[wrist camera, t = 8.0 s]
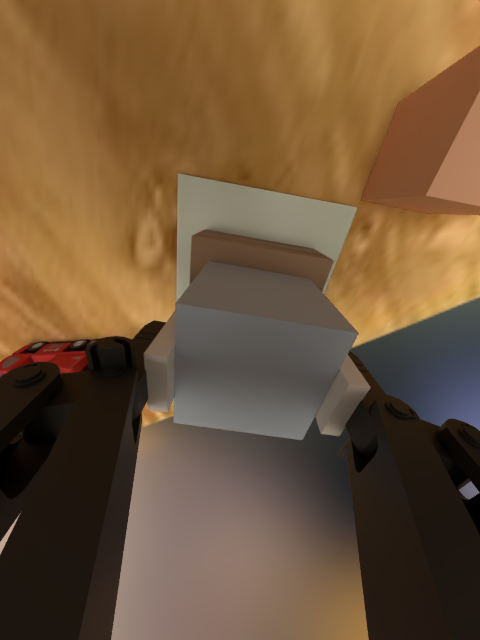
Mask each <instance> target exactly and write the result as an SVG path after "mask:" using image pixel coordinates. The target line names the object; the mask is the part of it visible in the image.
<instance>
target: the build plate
mask: <svg viewBox="0 0 480 640" xmlns="http://www.w3.org/2000/svg"><path fill="white" fill-rule="evenodd" d="M357 208H358V207H353V206H348V205H342V204H337V203H332V202H326V201H321V200H316V199H311V198H305V197H300V196H295V195H290V194H284V193H279V192H274V191H268V190H263V189H258V188H253V187H247V186H242V185H237V184H231V183H226V182H221V181H216V180H210V179H205V178H200V177H195V176H189V175H184V174H179V173H178V200H177V285H176V302H177V301H178V299H179V298H180V297H181V296H182V294H183V293H184V292H185V290H186V289H187V288H188V286H189V284H190V261H191V238H192V235H194V234H196V233H198V232H200V231H203V230H205V229H206V230H212V231H217V232H223V233H229V234H234V235H240V236H246V237H251V238H257V239H262V240H268V241H274V242H279V243H285V244H291V245H296V246H302V247H307V248H313V249H315V250H317V251H319V252H320V253H322V254H324V255H325V256H327V257H329V258H330V259H332V260H334V262H333V265H332V267H331V270H330V273H329V275H328V278H327V280H326V283H325V286H324V288H323V291H322V293H323V294H325V291H326V289H327V286H328V283H329V281H330V278H331V276H332V273H333V270H334V268H335V265H336V263H337V260H338V257H339V255H340V252H341V250H342V247H343V244H344V242H345V239H346V237H347V234H348V231H349V229H350V226H351V224H352V221H353V218H354V216H355V213H356V211H357Z"/></svg>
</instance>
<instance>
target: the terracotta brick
mask: <svg viewBox="0 0 480 640" xmlns="http://www.w3.org/2000/svg"><path fill="white" fill-rule="evenodd" d="M361 201H365V202H370V203H375V204H380V205H385V206H390V207H395V208H401V209H406V210H411V211H416V212H421V213H426V214H458V215H480V46H478V47H477V48H476V49H474V50H473V51H471V52H470V53H468V54H467V55H466V56H464V57H463V58H461V59H460V60H459V61H457V62H456V63H454V64H453V65H451V66H450V67H449V68H447V69H446V70H444V71H443V72H442V73H440V74H439V75H437V76H436V77H435V78H433V79H432V80H430V81H429V82H427V83H426V84H425V85H423V86H422V87H420V88H419V89H418V90H416V91H415V92H413V93H412V94H410V95H409V96H408V97H406V98H405V99H403V100H402V101H401V102H399V103H398V105H397V108H396V111H395V113H394V116H393V118H392V121H391V124H390V126H389V129H388V131H387V134H386V136H385V139H384V142H383V144H382V147H381V149H380V152H379V154H378V157H377V160H376V162H375V165H374V167H373V170H372V172H371V175H370V178H369V180H368V183H367V185H366V188H365V190H364V193H363V196H362V198H361Z"/></svg>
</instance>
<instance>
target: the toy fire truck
mask: <svg viewBox="0 0 480 640" xmlns="http://www.w3.org/2000/svg"><path fill="white" fill-rule="evenodd" d="M96 340H99V339H96ZM96 340H93V341H91V342H89V343H88V342H87V341H86V340H79V341H76V342H74V343H54V344H46V343H45V342H39V343H35V344H34V345H26V346H24V347H22V348H21V349H19V350H18V351H16V352H14V353H13V355H11V356H9V357H7V358H5V359H4V360H2V361H1V362H0V377H1V376H2V375H4V374H6V373H7V372H9V371H11V370H12V369H14V368H17V367H20V366H22V365H25V364H29V363H34V362H51V363H55V364H56V365H57V366H58V367H59V368H60V371H61V373H72V372H84V371H90V370H89V366H88V362H87V358H86V354H85V350H84V349H85V348H86V347H87V346H88V345H89V344H91V343H93V342H94V341H96Z"/></svg>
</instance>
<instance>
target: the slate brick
mask: <svg viewBox="0 0 480 640" xmlns="http://www.w3.org/2000/svg"><path fill="white" fill-rule="evenodd" d="M358 334H359V333H358V332H357V331H356V330H355V329H354V327H353V326H352V325H351V324H350V323H349V322H348V321H347V320H346V318H345V317H344V316H343V315H342V314H341V313H340V312H339V311H338V310H337V308H336V307H335V306H334V305H333V304H332V303H331V302H330V301H329V299H328V298H327V297H326V296H325V295H324V294H323V293H322V292H321V291H320V289H319V288H318V287H317V286H316V285H315V284H314V283H313V282H312V280H311V279H309V278H303V277H297V276H292V275H286V274H280V273H275V272H269V271H263V270H258V269H252V268H246V267H241V266H235V265H229V264H223V263H218V262H212V261H208V262H207V263H206V264H205V266H204V267H203V268H202V270H201V271H200V272H199V274H198V275H197V276H196V277H195V279H194V280H193V281H192V283H191V284H190V285H189V286H188V288H187V289H186V290H185V292H184V293H183V294H182V296H181V297H180V298H179V299H178V301H177V302H176V309H175V376H174V423H180V424H187V425H195V426H202V427H210V428H217V429H224V430H232V431H239V432H247V433H254V434H261V435H268V436H276V437H283V438H291V439H298V440H302V439H303V438H304V436H305V434H306V432H307V430H308V428H309V426H310V424H311V422H312V421H313V419H314V417H315V415H316V413H317V411H318V409H319V407H320V405H321V404H322V402H323V400H324V398H325V396H326V394H327V392H328V390H329V388H330V387H331V385H332V383H333V381H334V379H335V377H336V375H337V373H338V371H339V370H340V368H341V366H342V364H343V362H344V360H345V358H346V356H347V354H348V353H349V351H350V349H351V347H352V345H353V343H354V341H355V339H356V337H357V336H358Z"/></svg>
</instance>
